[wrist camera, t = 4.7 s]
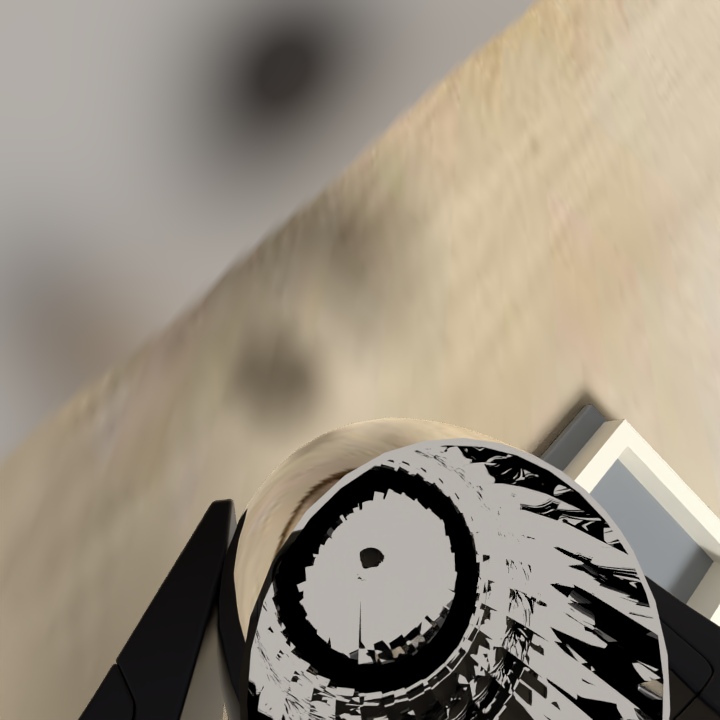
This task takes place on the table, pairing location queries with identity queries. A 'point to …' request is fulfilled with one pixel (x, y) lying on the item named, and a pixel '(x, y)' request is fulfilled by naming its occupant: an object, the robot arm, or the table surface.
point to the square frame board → (645, 506)
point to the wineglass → (433, 588)
